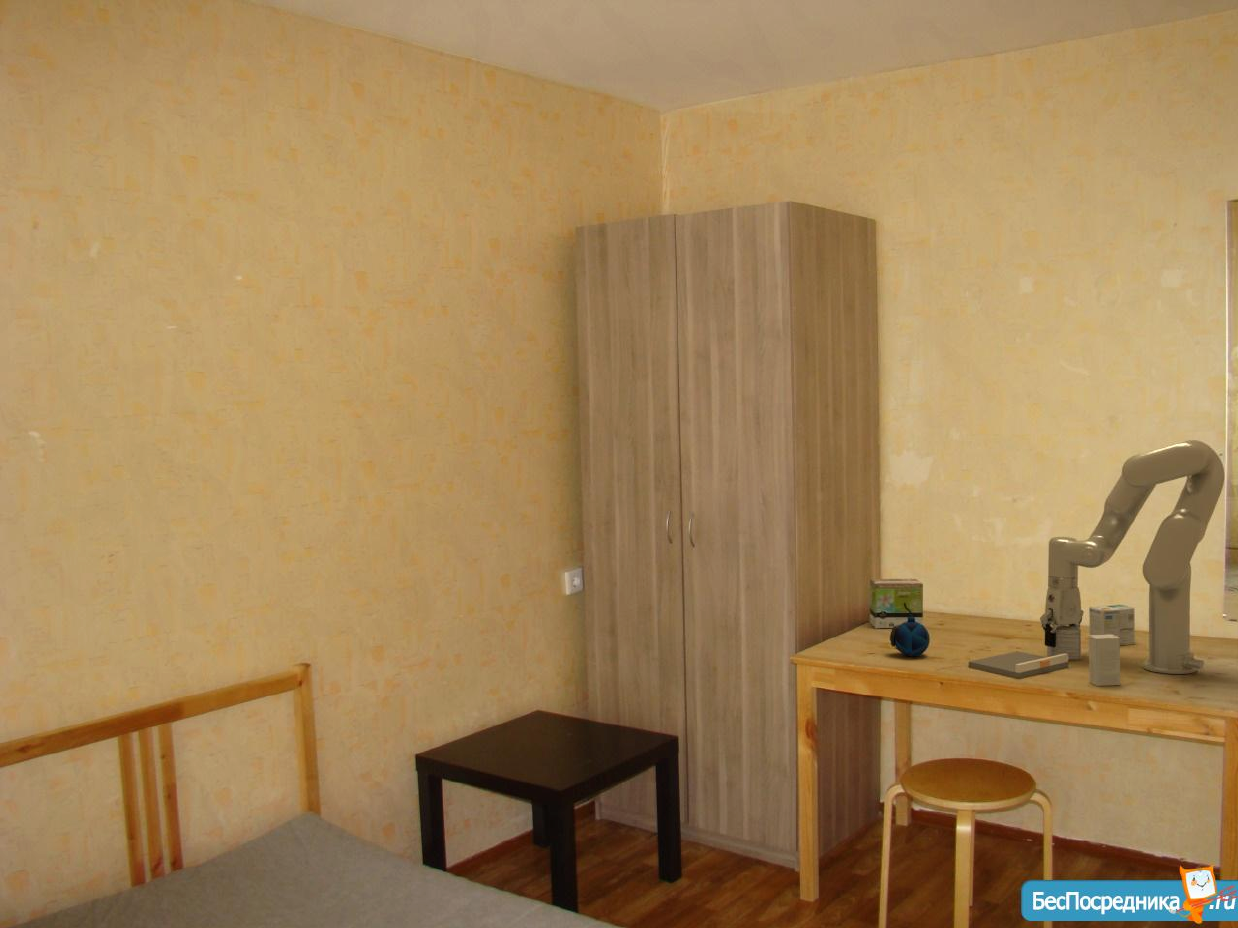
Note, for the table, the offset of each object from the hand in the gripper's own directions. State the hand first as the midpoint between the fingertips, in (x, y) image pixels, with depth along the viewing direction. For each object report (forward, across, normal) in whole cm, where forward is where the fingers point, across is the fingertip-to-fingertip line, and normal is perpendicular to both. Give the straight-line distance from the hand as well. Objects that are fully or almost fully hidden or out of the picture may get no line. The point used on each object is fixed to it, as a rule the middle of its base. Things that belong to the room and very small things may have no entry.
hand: (1061, 644), depth 297 cm
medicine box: (+4, 0, -1) cm, 4 cm away
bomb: (+5, -30, +27) cm, 41 cm away
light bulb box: (+4, +26, +2) cm, 27 cm away
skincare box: (+4, -16, -24) cm, 29 cm away
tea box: (+6, -2, +59) cm, 60 cm away
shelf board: (+4, -18, 0) cm, 18 cm away
